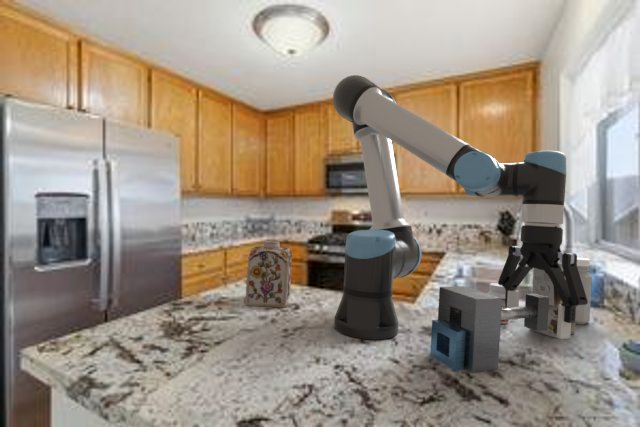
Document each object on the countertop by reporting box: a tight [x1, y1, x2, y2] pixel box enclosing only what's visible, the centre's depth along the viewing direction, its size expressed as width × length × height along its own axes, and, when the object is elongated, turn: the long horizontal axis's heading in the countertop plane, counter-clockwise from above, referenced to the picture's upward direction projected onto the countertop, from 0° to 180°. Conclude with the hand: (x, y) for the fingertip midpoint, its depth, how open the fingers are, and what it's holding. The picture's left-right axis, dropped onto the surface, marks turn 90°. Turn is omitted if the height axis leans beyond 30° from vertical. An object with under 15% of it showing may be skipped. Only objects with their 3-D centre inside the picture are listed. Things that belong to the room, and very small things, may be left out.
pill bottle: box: [486, 282, 510, 325], centre depth 96 cm, size 6×6×10 cm
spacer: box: [429, 319, 466, 372], centre depth 67 cm, size 2×7×7 cm, turn 19°
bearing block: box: [437, 285, 502, 373], centre depth 68 cm, size 6×10×13 cm, turn 19°
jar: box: [558, 256, 593, 325], centre depth 101 cm, size 10×10×18 cm
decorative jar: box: [245, 240, 293, 308], centre depth 103 cm, size 12×12×18 cm
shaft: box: [501, 293, 549, 332], centre depth 72 cm, size 20×3×7 cm, turn 109°
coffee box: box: [529, 268, 576, 338], centre depth 89 cm, size 9×6×16 cm
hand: (535, 327), depth 74 cm, fingers open, 11 cm apart
